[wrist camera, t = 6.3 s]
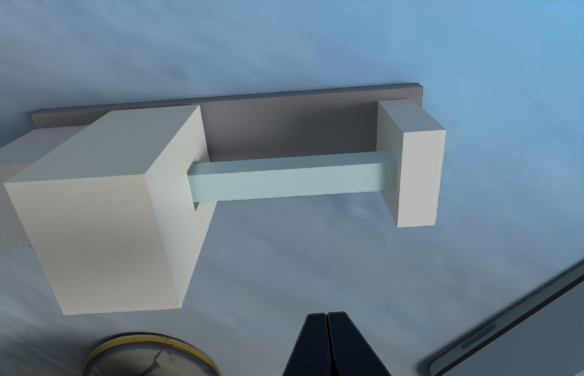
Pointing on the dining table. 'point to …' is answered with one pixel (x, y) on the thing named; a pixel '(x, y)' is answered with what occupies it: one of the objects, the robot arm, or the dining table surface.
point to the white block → (118, 211)
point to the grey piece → (280, 148)
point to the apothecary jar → (147, 358)
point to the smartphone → (527, 337)
